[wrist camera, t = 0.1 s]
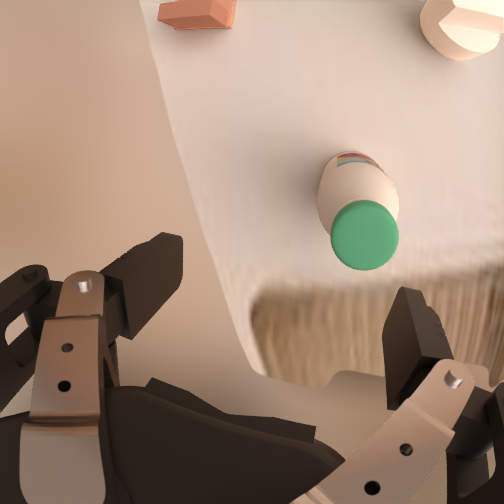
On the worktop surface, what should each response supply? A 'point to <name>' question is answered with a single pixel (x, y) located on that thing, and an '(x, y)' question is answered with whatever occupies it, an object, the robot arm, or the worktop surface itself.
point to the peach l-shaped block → (197, 14)
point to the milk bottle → (358, 210)
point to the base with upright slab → (462, 26)
